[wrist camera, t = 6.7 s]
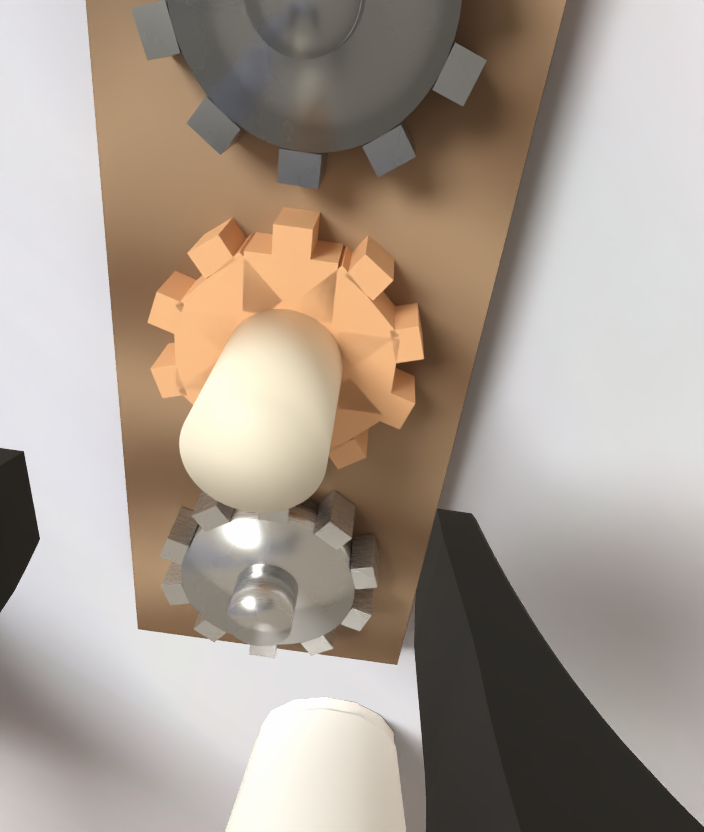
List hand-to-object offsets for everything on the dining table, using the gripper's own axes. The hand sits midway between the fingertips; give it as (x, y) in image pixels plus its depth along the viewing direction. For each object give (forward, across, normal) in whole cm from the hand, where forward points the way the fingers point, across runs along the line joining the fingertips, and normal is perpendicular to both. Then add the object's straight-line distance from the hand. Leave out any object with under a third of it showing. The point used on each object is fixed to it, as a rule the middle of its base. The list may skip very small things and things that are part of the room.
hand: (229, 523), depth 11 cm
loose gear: (+7, 0, 0) cm, 7 cm away
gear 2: (+7, 0, +8) cm, 11 cm away
